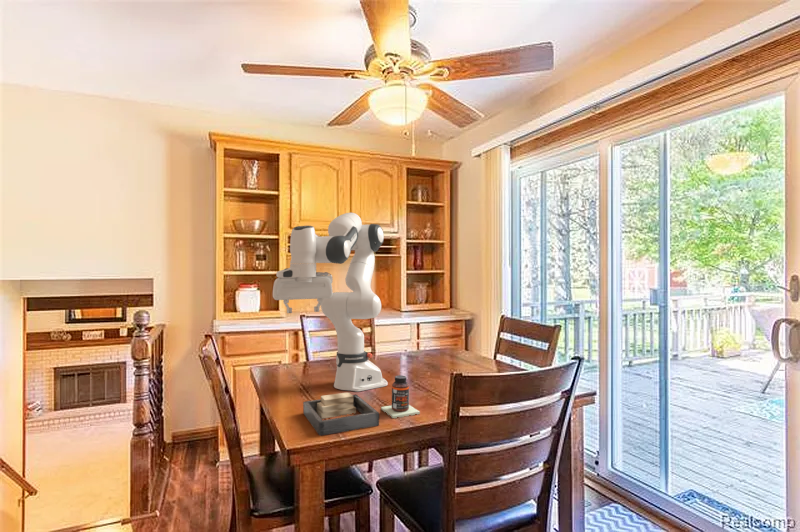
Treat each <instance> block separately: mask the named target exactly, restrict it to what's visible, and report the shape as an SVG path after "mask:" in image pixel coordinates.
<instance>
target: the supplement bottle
mask: <svg viewBox="0 0 800 532" xmlns="http://www.w3.org/2000/svg"><path fill="white" fill-rule="evenodd" d="M391 405H392V409H393V410H394V411H397V412H404V411H407V410H408V409H409V405H410V383H408V382H407V376H406V375H395V377H394V382H393V383H392V384H391Z"/></svg>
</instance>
